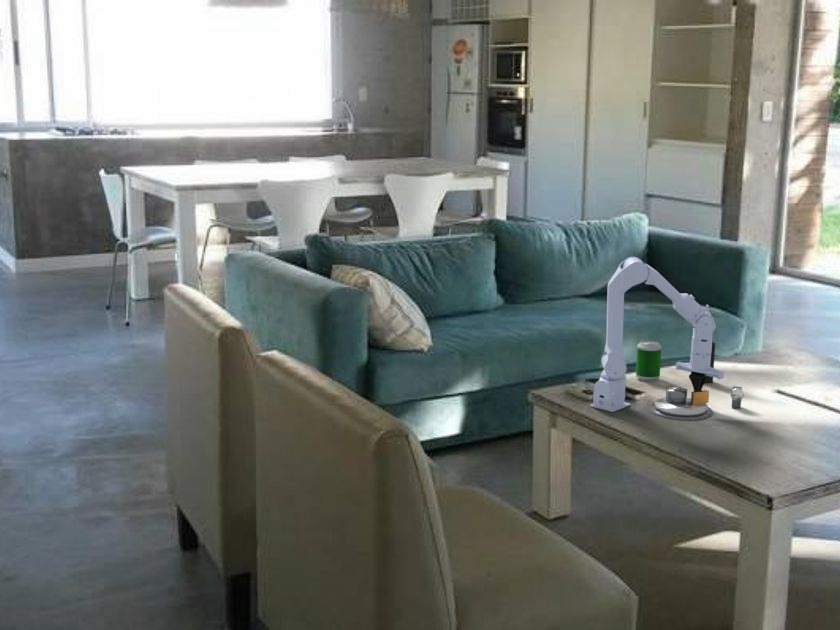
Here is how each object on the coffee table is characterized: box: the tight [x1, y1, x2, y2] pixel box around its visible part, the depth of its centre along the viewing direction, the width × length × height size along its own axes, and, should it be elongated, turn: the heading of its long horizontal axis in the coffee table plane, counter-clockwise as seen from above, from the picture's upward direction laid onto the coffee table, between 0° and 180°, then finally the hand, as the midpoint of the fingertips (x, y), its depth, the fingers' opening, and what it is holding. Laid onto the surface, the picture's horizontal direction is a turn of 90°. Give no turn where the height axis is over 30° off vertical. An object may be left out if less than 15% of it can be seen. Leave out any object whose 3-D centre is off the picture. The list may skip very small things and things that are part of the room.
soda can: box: [635, 340, 662, 383], centre depth 337 cm, size 8×8×12 cm
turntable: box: [654, 389, 710, 417], centre depth 306 cm, size 16×15×5 cm
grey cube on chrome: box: [730, 385, 745, 410], centre depth 308 cm, size 3×4×6 cm
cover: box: [665, 386, 688, 404], centre depth 309 cm, size 6×6×4 cm
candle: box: [704, 304, 716, 385], centre depth 333 cm, size 5×5×25 cm
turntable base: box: [648, 402, 714, 421], centre depth 306 cm, size 18×18×1 cm
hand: (697, 397), depth 309 cm, fingers closed, pressing on turntable
